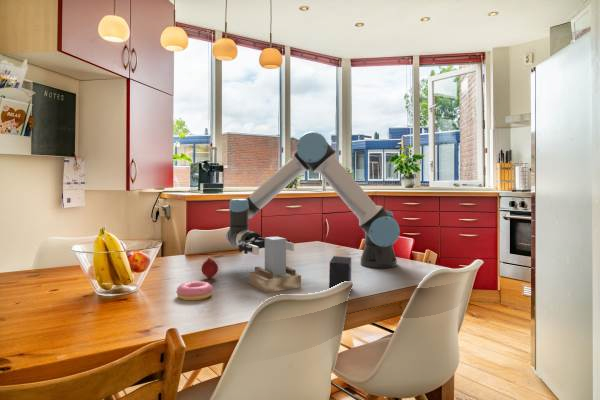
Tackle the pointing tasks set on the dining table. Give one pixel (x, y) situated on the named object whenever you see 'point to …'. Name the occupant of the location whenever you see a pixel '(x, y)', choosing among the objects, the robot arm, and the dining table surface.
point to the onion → (209, 268)
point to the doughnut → (194, 290)
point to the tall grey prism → (275, 255)
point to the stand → (274, 280)
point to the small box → (339, 270)
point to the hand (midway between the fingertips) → (275, 249)
